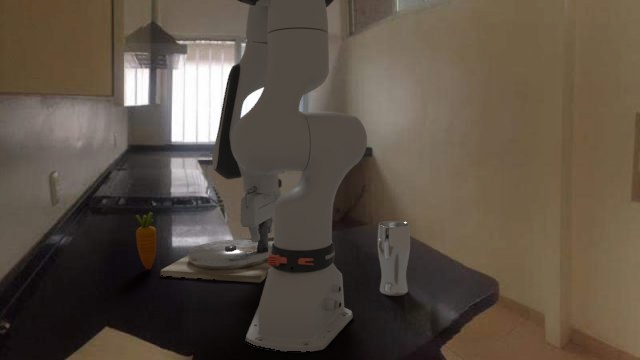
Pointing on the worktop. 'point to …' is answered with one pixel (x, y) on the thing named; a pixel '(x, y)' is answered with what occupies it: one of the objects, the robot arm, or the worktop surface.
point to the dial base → (217, 272)
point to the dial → (232, 252)
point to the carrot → (146, 241)
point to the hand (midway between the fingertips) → (262, 237)
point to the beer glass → (393, 256)
